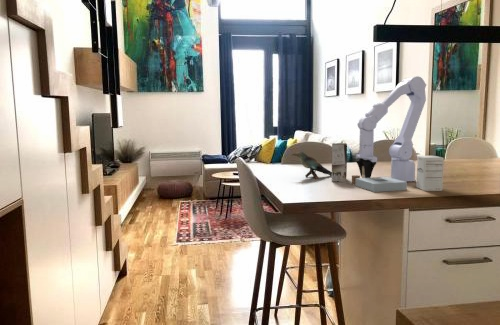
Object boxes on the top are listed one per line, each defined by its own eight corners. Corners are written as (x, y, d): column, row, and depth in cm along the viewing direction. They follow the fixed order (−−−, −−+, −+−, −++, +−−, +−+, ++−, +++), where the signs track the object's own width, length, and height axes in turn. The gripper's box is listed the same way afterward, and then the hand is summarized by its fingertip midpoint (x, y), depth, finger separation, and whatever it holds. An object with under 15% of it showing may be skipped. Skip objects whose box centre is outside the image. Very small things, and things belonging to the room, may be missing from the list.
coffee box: (346, 182, 179) (347, 144, 177) (331, 181, 180) (331, 144, 178) (346, 178, 188) (346, 142, 186) (331, 178, 189) (332, 142, 187)
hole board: (386, 183, 173) (386, 176, 173) (406, 189, 159) (406, 182, 159) (355, 185, 170) (355, 178, 169) (373, 191, 156) (373, 183, 156)
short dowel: (357, 183, 175) (357, 175, 175) (361, 184, 172) (361, 176, 172) (350, 183, 175) (350, 175, 174) (354, 185, 172) (354, 176, 171)
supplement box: (415, 187, 164) (416, 155, 163) (434, 187, 164) (436, 155, 163) (422, 191, 157) (424, 157, 155) (442, 190, 157) (444, 157, 155)
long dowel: (367, 180, 181) (367, 165, 181) (370, 182, 178) (371, 166, 177) (360, 181, 181) (360, 166, 180) (364, 182, 178) (364, 167, 177)
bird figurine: (326, 172, 202) (308, 137, 195) (339, 175, 193) (320, 139, 186) (306, 188, 198) (287, 154, 191) (317, 192, 189) (298, 156, 182)
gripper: (349, 144, 184) (349, 175, 185) (366, 146, 170) (365, 180, 171) (364, 144, 185) (363, 174, 187) (382, 146, 171) (381, 179, 173)
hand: (365, 177), depth 179 cm, fingers closed on long dowel, 3 cm apart
